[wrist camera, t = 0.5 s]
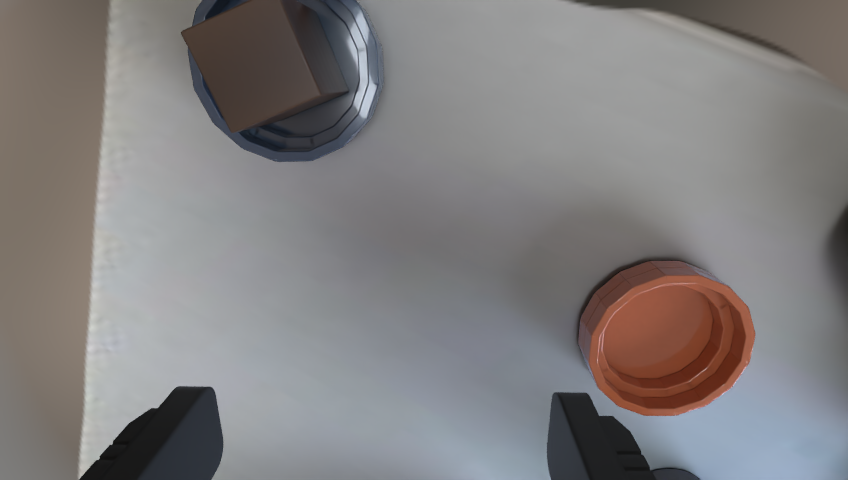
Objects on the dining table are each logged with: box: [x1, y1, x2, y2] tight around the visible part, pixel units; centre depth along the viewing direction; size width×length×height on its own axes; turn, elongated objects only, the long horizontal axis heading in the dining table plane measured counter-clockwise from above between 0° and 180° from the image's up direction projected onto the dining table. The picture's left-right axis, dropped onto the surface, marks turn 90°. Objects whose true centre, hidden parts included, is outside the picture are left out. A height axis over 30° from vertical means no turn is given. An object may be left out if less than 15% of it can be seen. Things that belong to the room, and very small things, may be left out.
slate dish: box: [188, 0, 384, 162], centre depth 23 cm, size 9×9×3 cm
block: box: [181, 0, 349, 133], centre depth 21 cm, size 4×4×6 cm
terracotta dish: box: [578, 261, 755, 416], centre depth 27 cm, size 9×9×3 cm
